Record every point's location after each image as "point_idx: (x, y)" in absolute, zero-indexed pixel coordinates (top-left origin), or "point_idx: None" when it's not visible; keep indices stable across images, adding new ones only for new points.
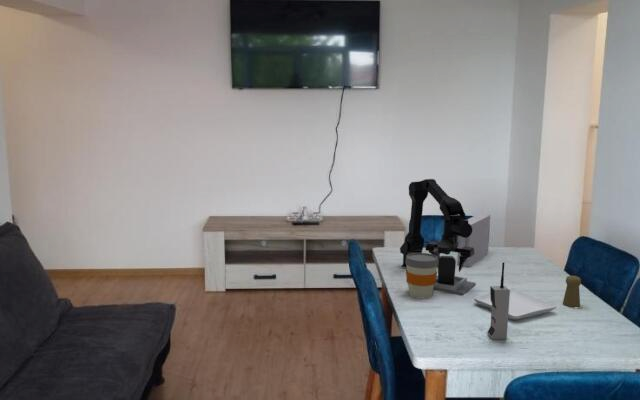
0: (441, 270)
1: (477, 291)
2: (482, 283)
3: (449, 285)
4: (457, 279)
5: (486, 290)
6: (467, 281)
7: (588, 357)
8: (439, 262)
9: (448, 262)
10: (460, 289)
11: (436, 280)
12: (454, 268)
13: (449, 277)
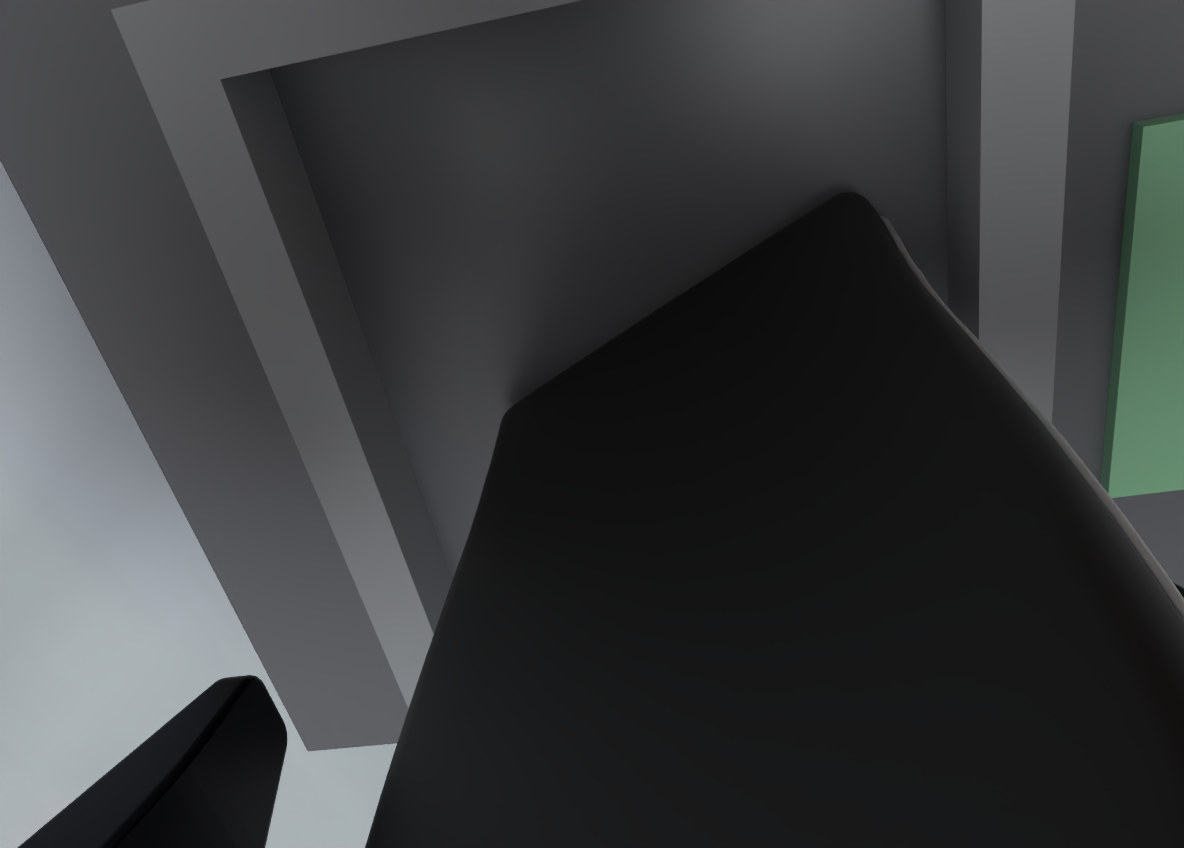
0: (853, 427)
1: (49, 472)
2: (310, 825)
3: (350, 43)
4: None
5: (14, 609)
6: None
7: None
8: (1125, 653)
9: None
10: (186, 223)
11: (965, 293)
12: (408, 738)
13: (582, 443)
